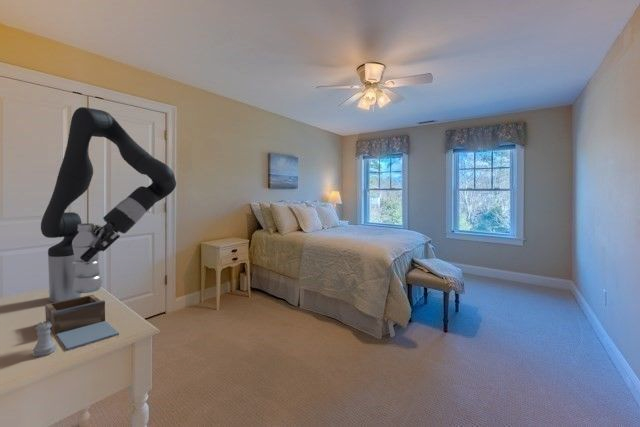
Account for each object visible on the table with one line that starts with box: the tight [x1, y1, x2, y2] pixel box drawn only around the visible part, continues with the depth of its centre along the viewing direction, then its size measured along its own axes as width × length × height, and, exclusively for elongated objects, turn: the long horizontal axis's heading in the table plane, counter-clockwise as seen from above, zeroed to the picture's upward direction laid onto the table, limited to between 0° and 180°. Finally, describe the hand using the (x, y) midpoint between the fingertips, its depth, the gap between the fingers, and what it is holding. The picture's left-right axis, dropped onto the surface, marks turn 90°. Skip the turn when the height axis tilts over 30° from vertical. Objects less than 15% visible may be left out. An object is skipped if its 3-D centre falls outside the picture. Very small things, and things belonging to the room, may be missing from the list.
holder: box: [44, 294, 106, 336], centre depth 96 cm, size 13×12×7 cm
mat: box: [56, 320, 120, 351], centre depth 88 cm, size 12×12×1 cm
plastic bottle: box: [72, 222, 103, 294], centre depth 86 cm, size 6×7×20 cm
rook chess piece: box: [32, 320, 57, 358], centre depth 78 cm, size 4×4×8 cm
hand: (79, 258), depth 85 cm, fingers closed on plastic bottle, 6 cm apart
